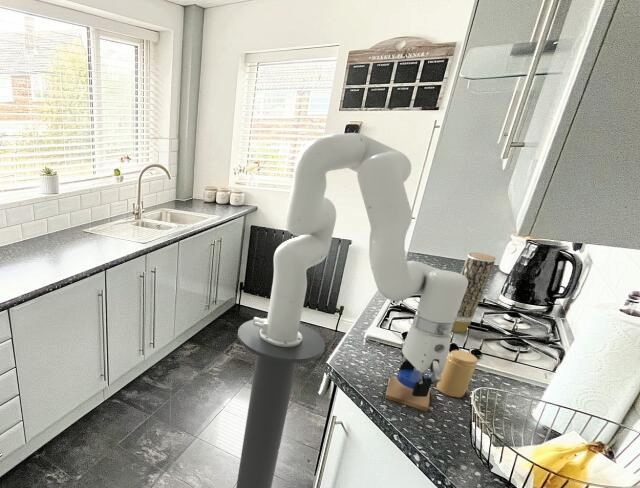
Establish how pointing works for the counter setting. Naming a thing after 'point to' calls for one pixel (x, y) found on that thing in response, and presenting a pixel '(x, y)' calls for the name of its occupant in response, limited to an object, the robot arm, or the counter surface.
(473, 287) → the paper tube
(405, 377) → the jar lid
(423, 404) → the block
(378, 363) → the counter surface
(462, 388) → the jar
